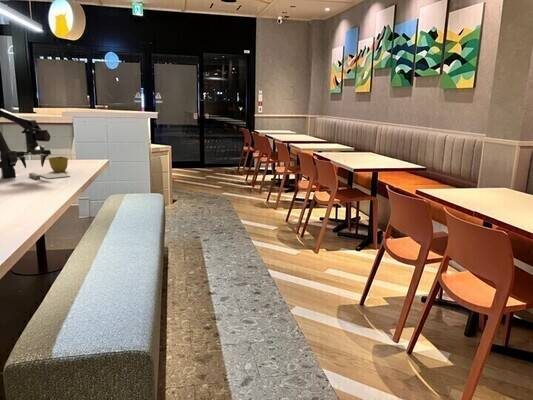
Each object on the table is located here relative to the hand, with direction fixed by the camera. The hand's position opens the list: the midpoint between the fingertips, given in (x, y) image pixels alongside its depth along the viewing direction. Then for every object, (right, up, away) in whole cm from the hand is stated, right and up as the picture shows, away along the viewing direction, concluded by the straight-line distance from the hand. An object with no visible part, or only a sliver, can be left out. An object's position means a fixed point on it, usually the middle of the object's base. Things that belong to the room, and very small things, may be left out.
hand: (34, 167), depth 259 cm
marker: (-1, -6, +2) cm, 7 cm away
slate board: (+8, -5, +9) cm, 13 cm away
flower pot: (+2, -1, +27) cm, 27 cm away
